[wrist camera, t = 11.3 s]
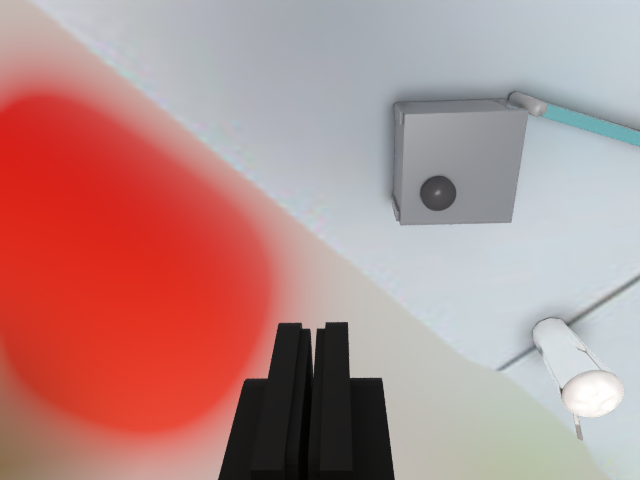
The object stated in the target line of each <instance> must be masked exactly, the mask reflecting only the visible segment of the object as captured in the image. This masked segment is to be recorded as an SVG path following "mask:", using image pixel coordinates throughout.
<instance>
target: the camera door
mask: <svg viewBox="0 0 640 480" xmlns="http://www.w3.org/2000/svg"><path fill="white" fill-rule="evenodd" d="M509 103H510V104H511V105H513V106H515V107H517V108H525V109H527V110H529V111H528V113H529V114H532V115H534V116H536V117H540V116H542V117H545V118H548V119H551V120H555V121H558V122H561V123H565V124H568V125H571V126H574V127H578V128H581V129H584V130H587V131H591V132H594V133H597V134H601V135H604V136H607V137H610V138H614V139H617V140H620V141H623V142H627V143H630V144H633V145H637V146H640V131H639V130H635V129H632V128H629V127H626V126H622V125H619V124H616V123H613V122H609V121H606V120H603V119H600V118H596V117H593V116H590V115H587V114H583V113H580V112H577V111H574V110H570V109H567V108H564V107H561V106H557V105H554V104H551V103H548V102H544V101H541V100H538V99H535V98H533V97H530V96H528V95H525V94H523V93H520V92H514V93H512V94H511V95H510V97H509Z"/></svg>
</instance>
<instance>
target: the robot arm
mask: <svg viewBox="0 0 640 480" xmlns="http://www.w3.org/2000/svg"><path fill="white" fill-rule="evenodd" d="M349 373H350V372H349V342H348V322H333V323H332V322H326V325H325V329H317V335H316V349H315V364H314V378H313V364H312V346H311V331H310V329H302V323H279V324H278V329H277V334H276V339H275V344H274V349H273V354H272V359H271V364H270V370H269V375H268V379H246V380H245V381H244V384H243V387H242V390H241V394H240V398H239V402H238V406H237V410H236V413H235V417H234V421H233V425H232V429H231V433H230V436H229V440H228V444H227V448H226V452H225V455H224V459H223V464H222V467H221V471H220V475H219V478H218V480H395V478H394V471H393V462H392V455H391V446H390V438H389V430H388V422H387V414H386V406H385V398H384V390H383V382H382V378H350V374H349Z"/></svg>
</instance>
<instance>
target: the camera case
mask: <svg viewBox="0 0 640 480" xmlns="http://www.w3.org/2000/svg"><path fill="white" fill-rule="evenodd" d="M506 104H507V100H505V99H476V100H449V101H421V102H396V104H395V111H394V115H395V117H396V124H395V156H394V188H393V195H392V207H393V211H394V214H395V217H396V221H399V222H400V225H435V224H479V223H511V221H512V214H513V208H514V201H515V195H516V189H517V182H518V176H519V169H520V163H521V156H522V150H523V143H524V137H525V131H526V124H527V118H528V111H529V110H527V109H525V108H513V109H509V108H507V107H506Z"/></svg>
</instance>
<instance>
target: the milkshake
mask: <svg viewBox="0 0 640 480" xmlns="http://www.w3.org/2000/svg"><path fill="white" fill-rule="evenodd" d="M533 340H534V342H535V344H536V346H537V348H538V350H539V352H540V355H541V357H542V359H543V361H544V363H545V365H546V367H547V369H548V371H549V373H550V375H551V377H552V379H553V381H554V384H555V386H556V388H557V390H558V393H559V395H560V397H561V399H562V402H563V404H564V406H565V407H566V409H568V410H569V411H570V412H572V413H573V416H574V421H575V426H576V432H577V437H578V439H580V440H583V437H582V432H581V427H580V422H579V417H578V415H579V416H585V417H599V416H602V415H605V414H607V413H609V412H610V411H612V410H613V409H614V408H615V407H616V406H617V405H618V404H619V403H620V402H621V400H622V398H623V396H624V388H623V385H622V383H621V381H620V380H619V378H618V377H617V376H616V375H615V374H614V373H613V372H612V371H611V370H610V369H609V368H608V367H607V366H606V365H605V364H604V363H603V362H602V361H601V360H600V359H599V358H598V357H597V356H595V355H594V353H593V352H592V351H591V350H590V349H589V348H588V347H587V346H586V345H585V344H584V343H583V342H582V340H581V339H580V338H579V337H578V336H577V335H576V334H575V333H574V332H573V331H572V330H571V328H570V327H569V326H568V325H567V324H565V323H564V322H563V321H562V320H561V319H556V318H548V319H546V320H543V321H541V322H539V323H538V324H537V325H536V327H535V328H534V329H533Z"/></svg>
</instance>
